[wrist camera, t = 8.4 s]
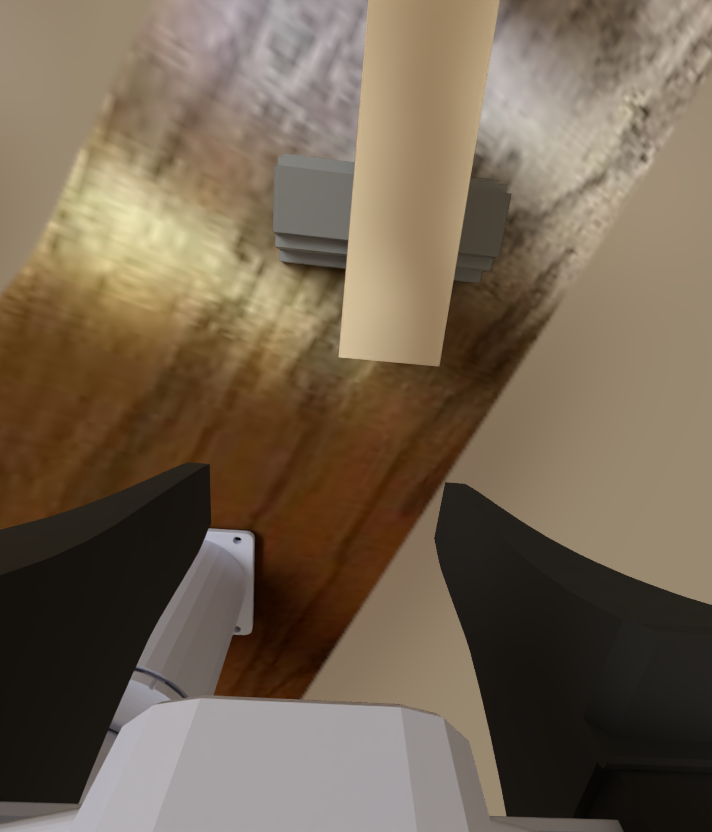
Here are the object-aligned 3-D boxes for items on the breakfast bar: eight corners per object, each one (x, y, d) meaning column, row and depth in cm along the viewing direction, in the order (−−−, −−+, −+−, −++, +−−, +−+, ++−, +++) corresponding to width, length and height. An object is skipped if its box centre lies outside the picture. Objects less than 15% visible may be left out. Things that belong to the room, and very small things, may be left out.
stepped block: (281, 262, 19) (272, 256, 16) (285, 159, 18) (275, 136, 15) (474, 282, 20) (494, 280, 17) (491, 185, 18) (516, 167, 16)
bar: (339, 341, 18) (338, 356, 13) (364, 51, 14) (375, -72, 10) (413, 348, 18) (439, 366, 13) (453, 63, 15) (508, -51, 10)
